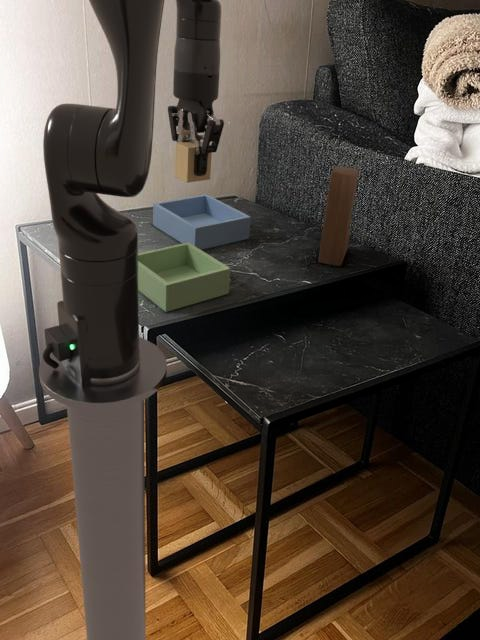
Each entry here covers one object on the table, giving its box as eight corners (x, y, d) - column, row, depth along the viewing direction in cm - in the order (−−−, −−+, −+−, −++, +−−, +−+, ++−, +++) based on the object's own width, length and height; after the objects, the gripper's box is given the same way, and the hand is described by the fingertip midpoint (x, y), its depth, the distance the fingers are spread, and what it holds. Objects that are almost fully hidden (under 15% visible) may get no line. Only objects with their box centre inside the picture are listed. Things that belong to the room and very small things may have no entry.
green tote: (165, 312, 97) (166, 285, 95) (126, 281, 106) (126, 255, 103) (228, 293, 104) (230, 268, 102) (187, 266, 113) (188, 242, 110)
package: (187, 182, 106) (188, 148, 103) (174, 176, 109) (175, 142, 106) (210, 179, 109) (212, 145, 106) (197, 173, 112) (199, 140, 109)
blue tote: (194, 251, 119) (195, 228, 116) (152, 225, 129) (152, 203, 127) (249, 238, 126) (250, 216, 124) (205, 214, 137) (206, 194, 134)
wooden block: (325, 246, 126) (338, 159, 117) (347, 250, 125) (362, 162, 116) (317, 263, 118) (331, 171, 109) (340, 267, 117) (356, 175, 108)
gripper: (154, 62, 103) (153, 163, 111) (203, 75, 93) (198, 185, 101) (191, 62, 107) (187, 159, 115) (241, 74, 98) (233, 180, 106)
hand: (192, 171), depth 108 cm, fingers closed on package, 4 cm apart
